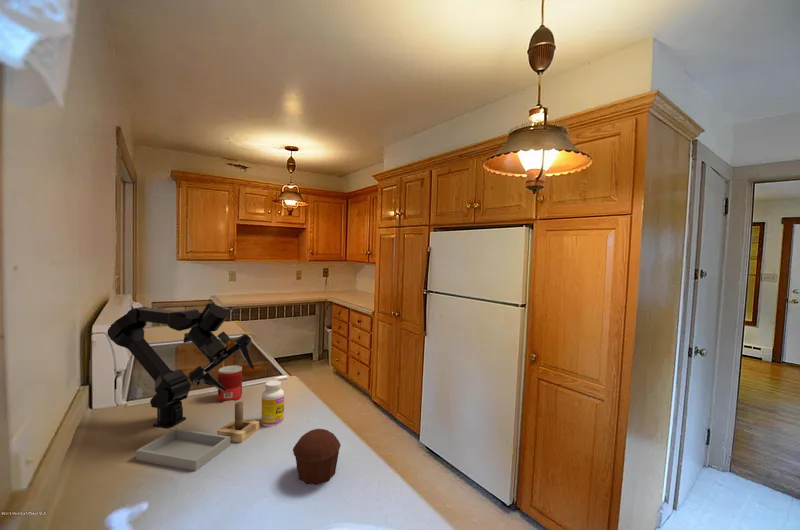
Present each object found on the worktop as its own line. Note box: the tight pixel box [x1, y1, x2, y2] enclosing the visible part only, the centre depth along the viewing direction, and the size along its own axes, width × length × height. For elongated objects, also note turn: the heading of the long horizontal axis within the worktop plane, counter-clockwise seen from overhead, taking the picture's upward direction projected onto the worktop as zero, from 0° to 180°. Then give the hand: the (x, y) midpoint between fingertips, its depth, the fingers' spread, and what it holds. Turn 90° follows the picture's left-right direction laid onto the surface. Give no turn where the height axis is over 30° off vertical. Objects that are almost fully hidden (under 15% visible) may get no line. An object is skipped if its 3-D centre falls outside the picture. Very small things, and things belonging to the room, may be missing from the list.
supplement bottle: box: [260, 379, 285, 428], centre depth 112 cm, size 7×7×13 cm
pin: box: [234, 401, 244, 430], centre depth 104 cm, size 2×2×9 cm
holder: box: [216, 418, 260, 444], centre depth 105 cm, size 8×8×3 cm
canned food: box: [217, 365, 243, 403], centre depth 131 cm, size 8×8×11 cm
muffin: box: [292, 428, 342, 486], centre depth 87 cm, size 12×11×10 cm
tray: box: [135, 427, 231, 472], centre depth 95 cm, size 18×12×3 cm, turn 77°
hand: (240, 380), depth 105 cm, fingers open, 9 cm apart
